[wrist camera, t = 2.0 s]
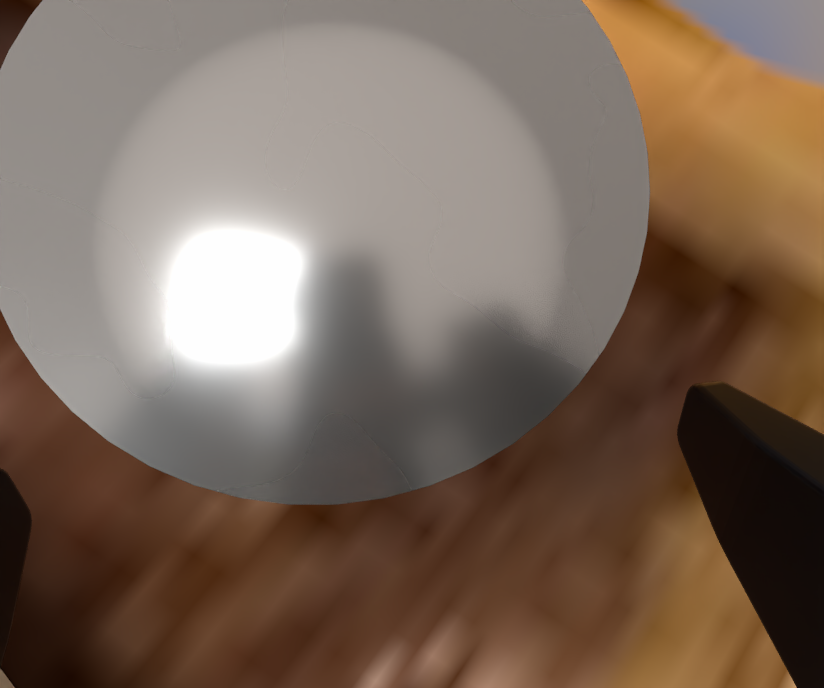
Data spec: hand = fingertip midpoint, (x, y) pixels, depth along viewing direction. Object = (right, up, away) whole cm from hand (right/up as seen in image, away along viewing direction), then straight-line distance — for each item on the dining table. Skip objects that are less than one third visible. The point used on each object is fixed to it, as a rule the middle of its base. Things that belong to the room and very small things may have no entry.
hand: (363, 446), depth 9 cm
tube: (-1, 0, +9) cm, 9 cm away
